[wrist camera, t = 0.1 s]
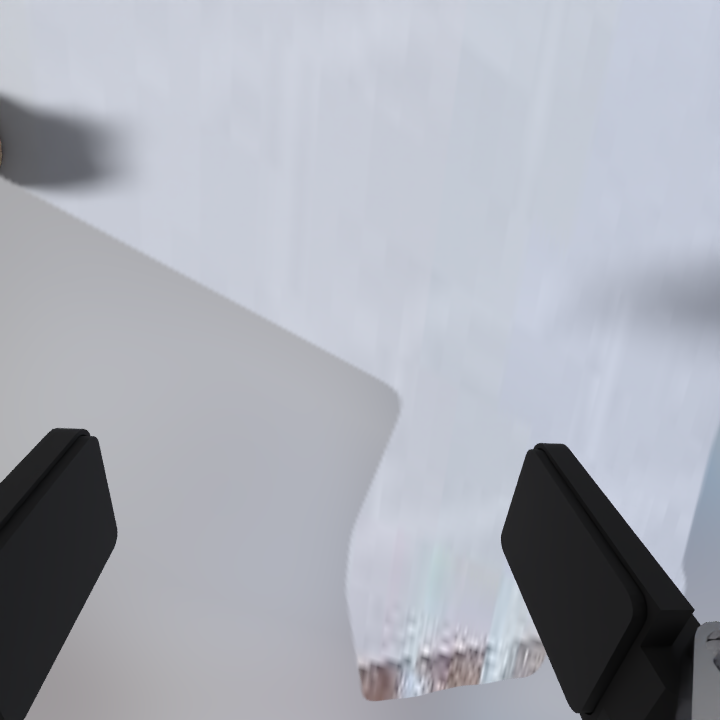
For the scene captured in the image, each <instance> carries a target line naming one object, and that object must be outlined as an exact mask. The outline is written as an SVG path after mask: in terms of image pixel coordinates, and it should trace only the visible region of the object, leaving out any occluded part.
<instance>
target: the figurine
mask: <svg viewBox="0 0 720 720" xmlns="http://www.w3.org/2000/svg"><path fill="white" fill-rule="evenodd" d="M1 163H2V149H1V140H0V166H1Z"/></svg>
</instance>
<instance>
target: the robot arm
mask: <svg viewBox="0 0 720 720" xmlns="http://www.w3.org/2000/svg"><path fill="white" fill-rule="evenodd" d="M116 540H117V526H116V521H115V516H114V512H113V507H112V502H111V498H110V493H109V488H108V483H107V479H106V474H105V470H104V465H103V460H102V456H101V451H100V446H99V442H98V439H97V438H96V437H94V436H90V433H89V432H88V431H87V430H85V429H64V428H56V429H52V430H51V431H50V432H49V433H48V434H47V435H46V436H45V437H44V438H43V439H42V440H41V441H40V442H39V443H38V444H37V445H36V446H35V447H34V449H32V451H31V452H30V453H29V454H28V455H27V456H26V457H25V458H24V459H23V460H22V461H21V462H20V463H19V464H18V465H17V466H16V467H15V469H14V470H12V472H11V473H10V474H9V475H8V476H7V477H6V478H5V479H4V480H3V481H2V482H1V483H0V720H24V718H25V717H26V715H27V713H28V711H29V709H30V707H31V705H32V703H33V702H34V699H35V698H36V696H37V694H38V692H39V690H40V688H41V686H42V684H43V682H44V681H45V679H46V676H47V675H48V673H49V671H50V669H51V667H52V665H53V663H54V661H55V660H56V658H57V655H58V654H59V652H60V650H61V648H62V646H63V644H64V642H65V640H66V638H67V637H68V635H69V633H70V630H71V629H72V627H73V625H74V623H75V621H76V619H77V617H78V615H79V614H80V612H81V610H82V608H83V606H84V604H85V602H86V600H87V598H88V597H89V595H90V593H91V591H92V589H93V587H94V585H95V583H96V581H97V579H98V578H99V576H100V574H101V572H102V570H103V568H104V566H105V564H106V562H107V560H108V558H109V557H110V554H111V553H112V551H113V549H114V546H115V544H116ZM501 544H502V549H503V552H504V554H505V556H506V559H507V561H508V564H509V566H510V568H511V571H512V573H513V575H514V578H515V580H516V582H517V585H518V587H519V589H520V592H521V594H522V596H523V599H524V601H525V603H526V606H527V608H528V610H529V613H530V615H531V618H532V620H533V622H534V625H535V627H536V629H537V632H538V634H539V636H540V639H541V641H542V643H543V646H544V648H545V650H546V653H547V655H548V657H549V660H550V662H551V664H552V667H553V669H554V671H555V674H556V676H557V679H558V681H559V683H560V686H561V688H562V690H563V693H564V695H565V697H566V700H567V702H568V704H569V706H570V707H571V709H572V710H573V711H574V712H575V713H580V715H581V718H582V720H720V622H717V621H715V622H706V623H704V624H702V625H700V624H699V622H698V621H697V620H696V618H695V617H694V616H693V614H692V613H693V612H694V608H693V607H692V606H691V605H690V603H689V602H688V601H687V600H686V598H685V597H684V596H683V594H682V593H681V592H680V590H679V589H678V588H677V587H676V585H675V584H674V583H673V581H672V580H671V579H670V578H669V576H668V575H667V574H666V573H665V571H664V570H663V569H662V567H661V566H660V565H659V564H658V562H657V561H656V560H655V558H654V557H653V556H652V555H651V553H650V552H649V551H648V549H647V548H646V547H645V546H644V544H643V543H642V542H641V540H640V539H639V538H638V537H637V535H636V534H635V533H634V531H633V530H632V529H631V528H630V526H629V525H628V524H627V523H626V521H625V520H624V519H623V517H622V516H621V515H620V514H619V512H618V511H617V510H616V508H615V507H614V506H613V505H612V503H611V502H610V501H609V499H608V498H607V497H606V496H605V494H604V493H603V492H602V490H601V489H600V488H599V487H598V485H597V484H596V483H595V481H594V480H593V479H592V478H591V476H590V475H589V474H588V473H587V471H586V470H585V469H584V467H583V466H582V465H581V464H580V462H579V461H578V460H577V458H576V457H575V456H574V455H573V453H572V452H571V451H570V449H569V448H568V447H567V446H566V445H564V444H549V443H539V444H537V445H536V446H535V447H534V449H531V450H529V451H528V452H527V454H526V457H525V460H524V463H523V466H522V470H521V473H520V476H519V479H518V482H517V486H516V489H515V492H514V495H513V498H512V502H511V505H510V508H509V511H508V515H507V518H506V521H505V524H504V527H503V531H502V534H501Z"/></svg>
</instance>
